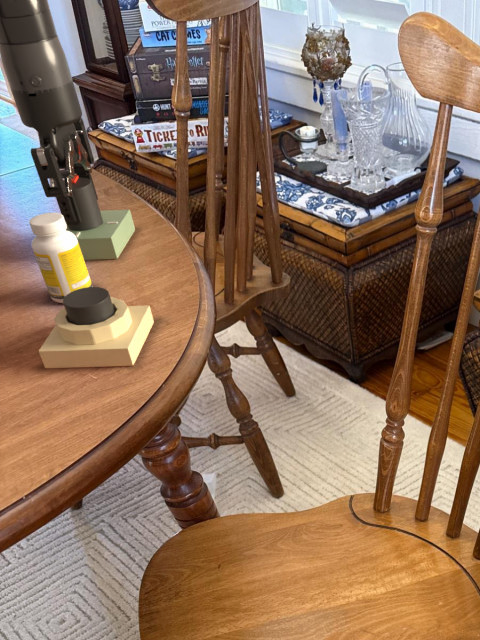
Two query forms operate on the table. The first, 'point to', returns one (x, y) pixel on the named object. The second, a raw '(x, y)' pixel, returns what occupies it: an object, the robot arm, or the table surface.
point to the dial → (85, 204)
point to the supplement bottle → (58, 256)
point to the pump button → (88, 306)
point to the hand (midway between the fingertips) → (82, 212)
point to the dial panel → (106, 236)
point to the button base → (98, 339)
